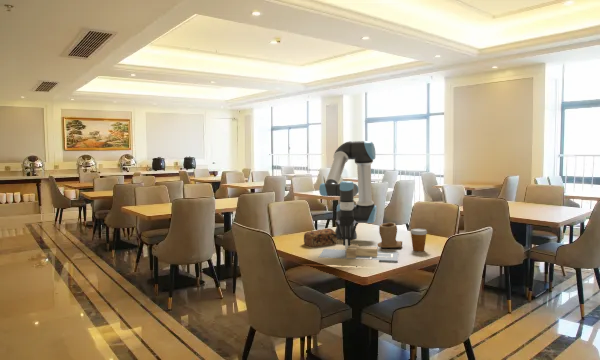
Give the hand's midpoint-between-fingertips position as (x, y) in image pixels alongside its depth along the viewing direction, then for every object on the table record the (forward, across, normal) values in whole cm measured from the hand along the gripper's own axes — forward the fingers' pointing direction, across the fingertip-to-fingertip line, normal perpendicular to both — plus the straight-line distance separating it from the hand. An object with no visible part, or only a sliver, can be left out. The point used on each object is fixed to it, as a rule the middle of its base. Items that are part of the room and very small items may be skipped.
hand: (346, 251), depth 240 cm
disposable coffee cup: (+3, +39, +20) cm, 44 cm away
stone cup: (+3, +23, +24) cm, 34 cm away
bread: (+3, -19, +23) cm, 30 cm away
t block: (+1, +9, 0) cm, 9 cm away
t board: (+3, +7, 0) cm, 7 cm away
